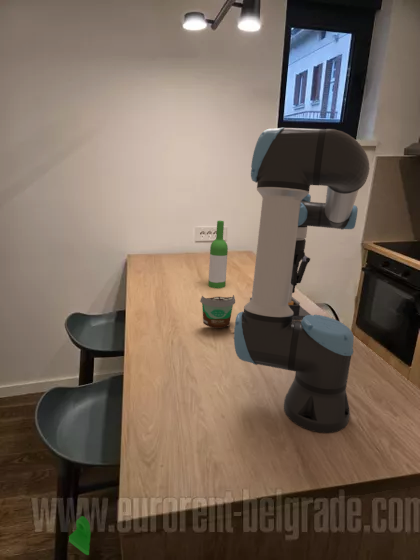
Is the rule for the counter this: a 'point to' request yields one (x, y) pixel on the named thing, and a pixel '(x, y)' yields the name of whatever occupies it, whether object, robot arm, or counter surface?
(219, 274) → the wine bottle
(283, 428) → the counter surface
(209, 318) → the food container
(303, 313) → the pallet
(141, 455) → the counter surface
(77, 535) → the mechanical part
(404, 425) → the counter surface
